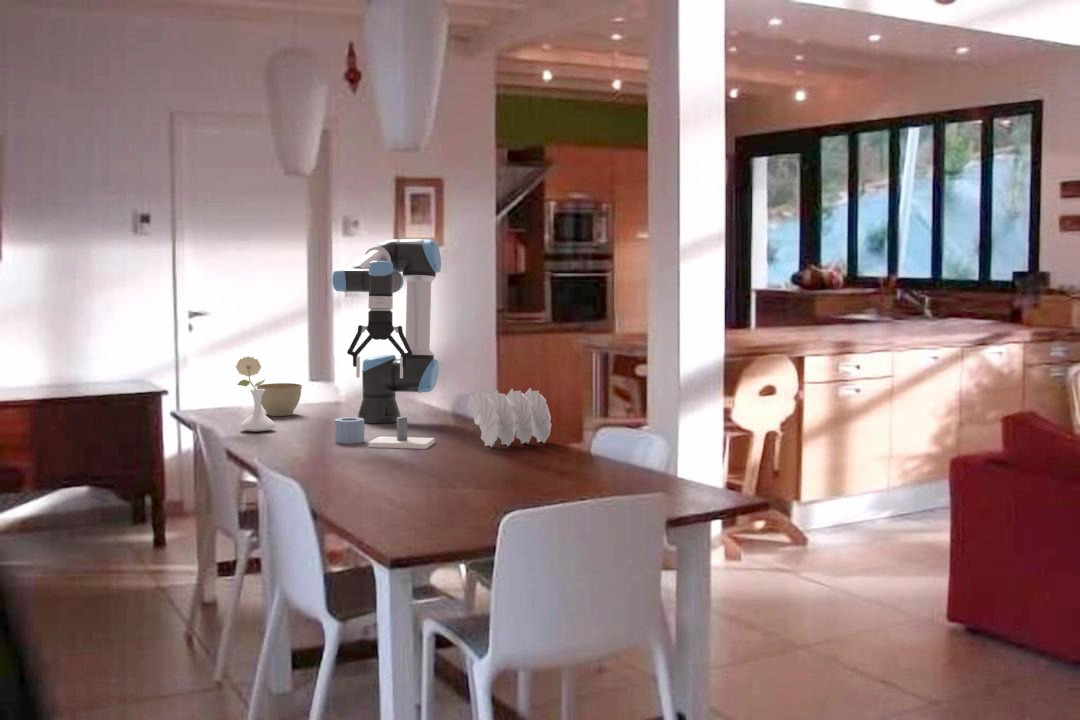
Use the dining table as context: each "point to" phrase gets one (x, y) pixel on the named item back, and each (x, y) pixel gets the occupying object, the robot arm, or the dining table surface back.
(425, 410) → the dining table surface
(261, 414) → the flower in vase
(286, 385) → the planter bowl
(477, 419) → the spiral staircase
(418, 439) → the post stand
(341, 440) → the hub ring
